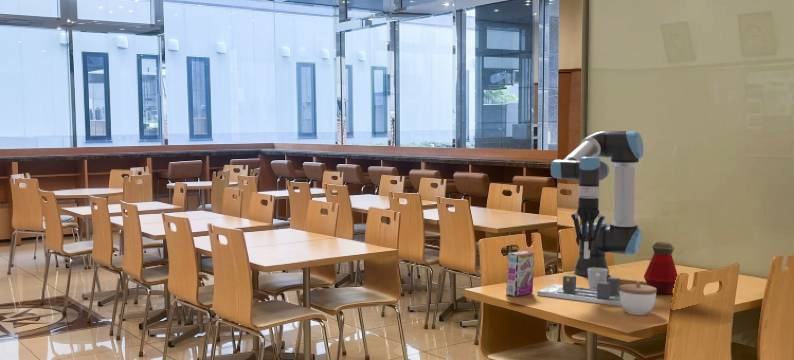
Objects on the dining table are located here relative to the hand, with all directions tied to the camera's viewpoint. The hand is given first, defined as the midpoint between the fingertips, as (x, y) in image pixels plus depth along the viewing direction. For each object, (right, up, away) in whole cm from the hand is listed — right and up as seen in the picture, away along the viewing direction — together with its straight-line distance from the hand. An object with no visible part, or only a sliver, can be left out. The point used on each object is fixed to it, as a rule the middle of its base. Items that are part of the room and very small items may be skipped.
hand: (586, 258), depth 301 cm
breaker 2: (+4, -14, -9) cm, 17 cm away
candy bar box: (-26, -15, +2) cm, 29 cm away
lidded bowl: (+11, -17, -26) cm, 33 cm away
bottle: (+32, -15, +12) cm, 38 cm away
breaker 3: (+10, -13, +1) cm, 17 cm away
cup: (+8, -14, +16) cm, 23 cm away
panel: (0, -15, 0) cm, 15 cm away
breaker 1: (-6, -13, +4) cm, 14 cm away
